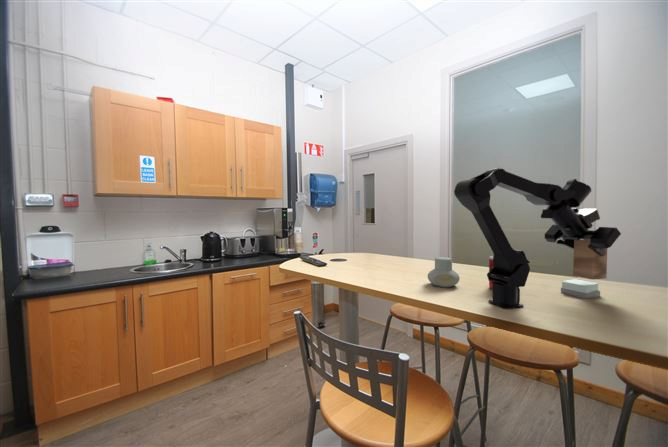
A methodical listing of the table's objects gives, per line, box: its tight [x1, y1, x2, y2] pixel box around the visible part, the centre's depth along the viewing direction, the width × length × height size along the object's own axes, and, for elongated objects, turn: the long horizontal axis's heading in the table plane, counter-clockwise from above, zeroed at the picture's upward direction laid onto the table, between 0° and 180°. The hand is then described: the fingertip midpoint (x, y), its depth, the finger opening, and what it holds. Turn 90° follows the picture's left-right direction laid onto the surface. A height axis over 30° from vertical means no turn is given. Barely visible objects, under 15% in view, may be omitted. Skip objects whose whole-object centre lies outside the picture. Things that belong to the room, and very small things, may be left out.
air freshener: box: [427, 256, 460, 288], centre depth 106 cm, size 11×8×10 cm
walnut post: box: [572, 238, 608, 280], centre depth 89 cm, size 6×6×13 cm
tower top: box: [561, 278, 599, 293], centre depth 93 cm, size 7×7×2 cm
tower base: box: [560, 286, 601, 299], centre depth 93 cm, size 7×7×2 cm
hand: (593, 253), depth 89 cm, fingers closed on walnut post, 5 cm apart
